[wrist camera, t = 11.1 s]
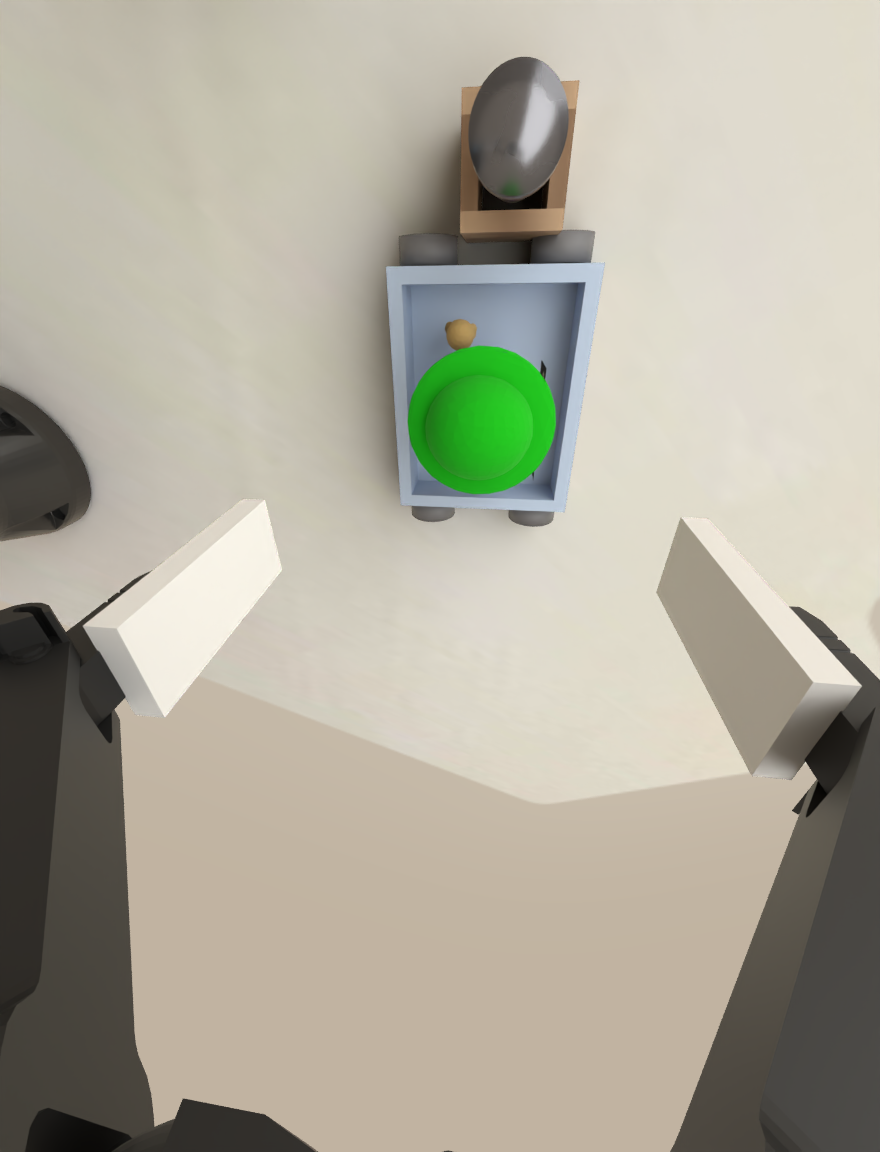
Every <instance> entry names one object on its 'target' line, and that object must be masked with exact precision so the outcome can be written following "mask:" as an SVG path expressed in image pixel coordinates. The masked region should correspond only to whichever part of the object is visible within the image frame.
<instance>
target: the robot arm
mask: <svg viewBox="0 0 880 1152" xmlns="http://www.w3.org/2000/svg"><path fill="white" fill-rule="evenodd" d="M90 494H91V492H90V483H89V478H88V475H87V472H86V469H85V466H84V464H83V462H82V460H81V458H80V456H79V454H78V452H77V451H76V449H75V447H74V446H73V444H72V443H71V442H70V440H69V439H68V438H67V436H66V435H65V434H64V433H63V431H62V430H61V429H60V428H59V427H58V426H57V425H56V424H55V423H54V422H53V421H52V420H51V419H50V418H49V417H48V416H47V415H46V414H45V413H44V412H42V411H41V410H40V409H39V408H37V407H36V406H35V405H33V404H32V403H31V402H29V401H28V400H26V399H25V398H23V397H21V396H20V395H18V394H16V393H14V392H12V391H10V390H8V389H6V388H4V387H1V386H0V541H6V540H12V539H18V538H24V537H30V536H36V535H42V534H48V533H52V532H55V531H58V530H60V529H62V528H64V527H66V526H68V525H70V524H72V523H73V522H75V521H77V520H79V519H80V518H81V517H82V516H83V515H84V514H85V512H86V510H87V508H88V506H89V502H90ZM281 571H282V568H281V564H280V559H279V555H278V551H277V547H276V543H275V539H274V535H273V531H272V527H271V523H270V519H269V515H268V511H267V506H266V502H265V500H260V499H242V500H241V501H240V502H238V503H237V504H236V505H235V506H233V507H232V508H231V509H229V510H228V511H227V512H226V513H224V514H223V515H222V516H221V517H219V518H218V519H217V520H216V521H214V522H213V523H212V524H211V525H209V526H208V527H207V528H206V529H204V530H203V531H202V532H200V533H199V534H198V535H197V536H195V537H194V538H193V539H192V540H190V541H189V542H188V543H187V544H185V545H184V546H183V547H182V548H180V549H179V550H178V551H176V552H175V553H174V554H173V555H171V556H170V557H169V558H168V559H166V560H165V561H164V562H163V563H161V564H160V565H159V566H158V567H156V568H155V569H154V570H152V571H150V572H148V573H146V574H144V575H142V576H140V577H138V578H136V579H134V580H133V581H131V582H130V583H129V584H128V585H126V586H125V587H124V588H122V589H121V590H120V593H116V594H115V595H113V596H112V597H111V598H109V599H108V602H104V603H103V604H102V605H100V606H99V607H98V608H97V609H95V610H94V611H93V612H91V613H90V614H89V615H88V616H86V617H85V618H84V619H82V620H81V621H80V622H79V623H77V624H76V625H75V626H73V627H72V628H71V629H70V630H68V631H67V632H65V630H64V629H63V627H62V625H61V624H60V622H59V621H58V619H57V617H56V616H55V614H54V613H53V611H52V609H51V608H50V606H49V605H46V604H43V603H26V604H21V605H16V606H12V607H9V608H6V609H4V610H0V1152H318V1151H316V1150H315V1149H313V1148H312V1147H311V1146H309V1145H308V1144H307V1143H305V1142H304V1141H302V1140H301V1139H299V1138H298V1137H297V1136H295V1135H293V1134H292V1133H291V1132H289V1131H288V1130H286V1129H285V1128H284V1127H282V1126H281V1125H279V1124H278V1123H276V1122H275V1121H273V1120H272V1119H271V1118H269V1117H268V1116H266V1115H264V1114H259V1113H254V1112H249V1111H244V1110H239V1109H234V1108H229V1107H224V1106H218V1105H214V1104H208V1103H203V1102H198V1101H193V1100H188V1099H183V1100H182V1102H181V1105H180V1107H179V1110H178V1112H177V1115H176V1117H175V1119H173V1120H170V1121H168V1122H165V1123H163V1124H160V1125H158V1126H156V1127H154V1115H153V1107H152V1098H151V1092H150V1088H149V1083H148V1079H147V1075H146V1073H145V1070H144V1068H143V1065H142V1063H141V1061H140V1058H139V1056H138V1052H137V1048H136V1043H135V1034H134V1014H133V993H132V971H131V949H130V927H129V906H128V884H127V863H126V841H125V820H124V798H123V777H122V757H121V756H122V755H121V735H120V719H119V717H118V715H117V713H116V712H115V710H114V709H115V708H116V707H117V705H119V704H120V702H121V701H122V700H123V699H124V698H126V700H127V702H128V703H129V705H130V707H131V709H132V710H133V712H134V714H135V715H144V716H154V717H163V718H165V716H166V715H167V714H168V713H169V712H170V710H171V709H172V708H173V707H174V705H175V704H176V703H177V702H178V700H179V699H180V698H181V697H182V695H183V694H184V692H185V691H186V690H187V689H188V688H189V686H190V685H191V684H192V683H193V681H194V680H195V679H196V678H197V676H198V675H199V674H200V673H201V671H202V670H203V669H204V668H205V666H206V665H207V664H208V663H209V661H210V660H211V659H212V658H213V656H214V655H215V654H216V653H217V651H218V650H219V649H220V647H221V646H222V645H223V644H224V642H225V641H226V640H227V639H228V637H229V636H230V635H231V634H232V632H233V631H234V630H235V629H236V627H237V626H238V625H239V624H240V622H241V621H242V620H243V619H244V617H245V616H246V615H247V614H248V612H249V611H250V610H251V608H252V607H253V606H254V605H255V603H256V602H257V601H258V600H259V598H260V597H261V596H262V595H263V593H264V592H265V591H266V590H267V588H268V587H269V586H270V585H271V583H272V582H273V581H274V580H275V578H276V577H277V576H278V575H279V573H280V572H281ZM657 594H658V596H659V598H660V600H661V602H662V604H663V606H664V608H665V610H666V612H667V613H668V615H669V617H670V619H671V621H672V623H673V625H674V627H675V629H676V631H677V633H678V635H679V637H680V639H681V640H682V642H683V644H684V646H685V648H686V650H687V652H688V654H689V656H690V658H691V660H692V662H693V664H694V666H695V667H696V669H697V671H698V673H699V675H700V677H701V679H702V681H703V683H704V685H705V687H706V689H707V691H708V693H709V694H710V696H711V698H712V700H713V702H714V704H715V706H716V708H717V710H718V712H719V714H720V716H721V718H722V720H723V721H724V723H725V725H726V727H727V729H728V731H729V733H730V735H731V737H732V739H733V741H734V743H735V745H736V747H737V748H738V750H739V752H740V754H741V756H742V758H743V760H744V762H745V764H746V766H747V768H748V770H749V772H750V774H751V775H752V776H757V777H768V778H778V779H787V780H792V779H793V777H794V776H795V775H796V773H797V772H798V771H799V769H800V768H801V767H802V765H803V764H804V763H805V761H806V763H807V764H808V766H809V767H810V769H811V771H812V772H813V774H814V775H815V777H816V778H817V780H816V781H815V783H814V784H813V785H812V786H811V788H810V789H809V790H808V791H807V793H806V794H805V795H804V796H803V798H802V799H801V800H800V801H799V803H798V804H797V805H796V806H795V807H794V809H793V810H792V811H793V812H795V813H797V814H799V817H798V820H797V822H796V825H795V828H794V830H793V833H792V836H791V838H790V841H789V844H788V846H787V849H786V852H785V855H784V857H783V859H782V862H781V865H780V867H779V870H778V873H777V875H776V878H775V881H774V883H773V886H772V888H771V891H770V894H769V896H768V899H767V902H766V905H765V907H764V910H763V912H762V915H761V918H760V920H759V923H758V926H757V928H756V931H755V933H754V936H753V939H752V942H751V944H750V947H749V949H748V952H747V955H746V957H745V960H744V963H743V965H742V968H741V970H740V973H739V976H738V978H737V981H736V984H735V986H734V989H733V992H732V994H731V997H730V1000H729V1002H728V1005H727V1008H726V1010H725V1013H724V1015H723V1018H722V1021H721V1023H720V1026H719V1029H718V1032H717V1034H716V1037H715V1039H714V1042H713V1044H712V1047H711V1050H710V1053H709V1055H708V1058H707V1060H706V1063H705V1066H704V1068H703V1071H702V1074H701V1076H700V1080H699V1082H698V1084H697V1087H696V1090H695V1092H694V1095H693V1098H692V1100H691V1103H690V1106H689V1108H688V1111H687V1113H686V1116H685V1119H684V1121H683V1124H682V1126H681V1129H680V1132H679V1134H678V1136H677V1139H676V1141H675V1144H674V1146H673V1147H672V1149H671V1151H670V1152H880V680H879V679H878V678H877V677H876V676H875V675H874V674H873V673H872V672H871V671H870V670H869V668H868V667H867V666H866V665H865V664H864V663H863V662H862V661H861V660H860V659H859V658H858V657H857V656H856V655H855V654H853V653H850V649H849V648H848V647H847V646H846V645H845V644H844V643H843V642H842V641H841V640H838V639H837V638H838V637H837V636H836V635H835V634H834V633H833V632H832V631H831V630H830V629H829V628H828V627H827V626H826V625H825V624H824V623H823V622H822V621H821V620H819V619H818V618H816V617H815V616H813V615H811V614H810V613H808V612H807V611H805V610H803V609H802V608H800V607H789V606H788V605H787V604H786V603H785V602H784V601H783V600H782V598H781V597H780V596H779V595H778V594H777V593H776V592H775V591H774V590H773V589H772V588H771V586H770V585H769V584H768V583H767V582H766V581H765V580H764V579H763V578H762V577H761V576H760V574H759V573H758V572H757V571H756V570H755V569H754V568H753V567H752V566H751V565H750V564H749V563H748V561H747V560H746V559H745V558H744V557H743V556H742V555H741V554H740V553H739V552H738V551H737V549H736V548H735V547H734V546H733V545H732V544H731V543H730V542H729V541H728V540H727V539H726V537H725V536H724V535H723V534H722V533H721V532H720V531H719V530H718V529H717V528H716V527H715V526H714V524H713V523H712V522H711V521H710V520H709V519H708V518H691V517H681V518H680V521H679V524H678V527H677V530H676V533H675V537H674V540H673V543H672V546H671V549H670V552H669V555H668V558H667V561H666V564H665V567H664V570H663V574H662V577H661V580H660V583H659V586H658V589H657ZM444 1152H452V1151H444Z"/></svg>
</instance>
